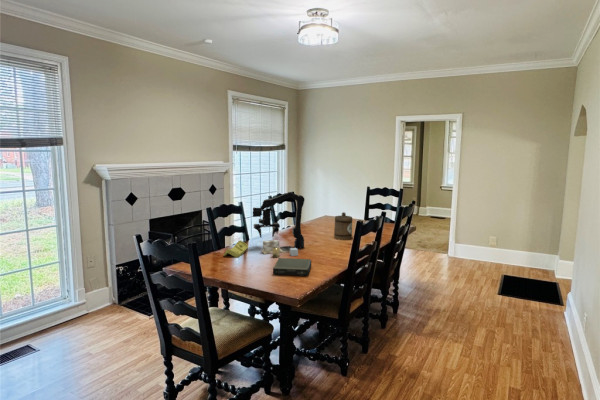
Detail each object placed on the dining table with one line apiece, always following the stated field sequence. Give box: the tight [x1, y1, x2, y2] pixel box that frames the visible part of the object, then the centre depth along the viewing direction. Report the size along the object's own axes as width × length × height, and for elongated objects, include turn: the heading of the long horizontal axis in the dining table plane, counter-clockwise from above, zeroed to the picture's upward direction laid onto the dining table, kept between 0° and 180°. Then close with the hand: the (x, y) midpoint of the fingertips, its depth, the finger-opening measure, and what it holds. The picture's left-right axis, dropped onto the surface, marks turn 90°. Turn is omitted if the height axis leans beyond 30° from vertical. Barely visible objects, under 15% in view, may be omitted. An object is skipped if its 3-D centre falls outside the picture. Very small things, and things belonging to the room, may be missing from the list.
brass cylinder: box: [272, 247, 281, 259], centre depth 257 cm, size 5×5×6 cm
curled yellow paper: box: [223, 240, 249, 258], centre depth 264 cm, size 20×7×10 cm
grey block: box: [289, 247, 299, 257], centre depth 261 cm, size 4×4×4 cm
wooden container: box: [333, 211, 353, 241], centre depth 313 cm, size 15×15×22 cm
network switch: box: [272, 257, 312, 277], centre depth 227 cm, size 23×23×5 cm
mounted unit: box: [261, 239, 294, 255], centre depth 269 cm, size 23×8×8 cm, turn 111°
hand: (266, 237), depth 278 cm, fingers open, 9 cm apart
